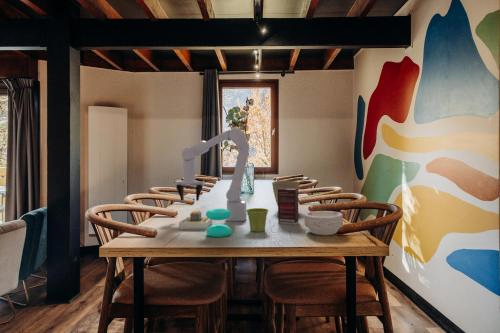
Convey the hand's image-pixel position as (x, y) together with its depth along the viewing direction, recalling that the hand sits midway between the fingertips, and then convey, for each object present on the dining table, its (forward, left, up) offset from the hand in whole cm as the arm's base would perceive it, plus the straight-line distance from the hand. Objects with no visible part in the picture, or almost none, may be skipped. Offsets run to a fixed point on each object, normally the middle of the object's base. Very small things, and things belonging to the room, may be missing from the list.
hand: (189, 200), depth 172 cm
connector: (-7, +16, -9) cm, 19 cm away
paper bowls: (-62, +25, -10) cm, 68 cm away
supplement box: (-48, +7, -10) cm, 49 cm away
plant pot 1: (-35, +22, -10) cm, 42 cm away
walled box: (-7, +16, -9) cm, 20 cm away
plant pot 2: (-47, -24, -10) cm, 54 cm away
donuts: (-20, +30, -10) cm, 37 cm away
